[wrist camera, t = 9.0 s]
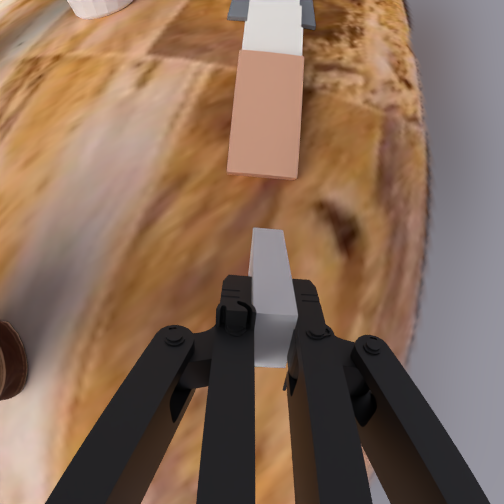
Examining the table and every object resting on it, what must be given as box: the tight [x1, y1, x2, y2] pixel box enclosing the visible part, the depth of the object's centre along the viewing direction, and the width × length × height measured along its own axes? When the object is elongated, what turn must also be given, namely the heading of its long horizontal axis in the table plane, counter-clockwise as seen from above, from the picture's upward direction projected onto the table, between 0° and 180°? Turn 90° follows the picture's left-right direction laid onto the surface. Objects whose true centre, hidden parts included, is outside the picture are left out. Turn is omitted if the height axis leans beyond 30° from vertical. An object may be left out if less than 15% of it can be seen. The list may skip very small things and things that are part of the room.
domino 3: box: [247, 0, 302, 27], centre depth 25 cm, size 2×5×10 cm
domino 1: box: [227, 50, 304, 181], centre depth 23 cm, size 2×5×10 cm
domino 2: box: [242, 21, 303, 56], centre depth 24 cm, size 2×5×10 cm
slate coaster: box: [227, 0, 316, 30], centre depth 31 cm, size 10×10×1 cm
